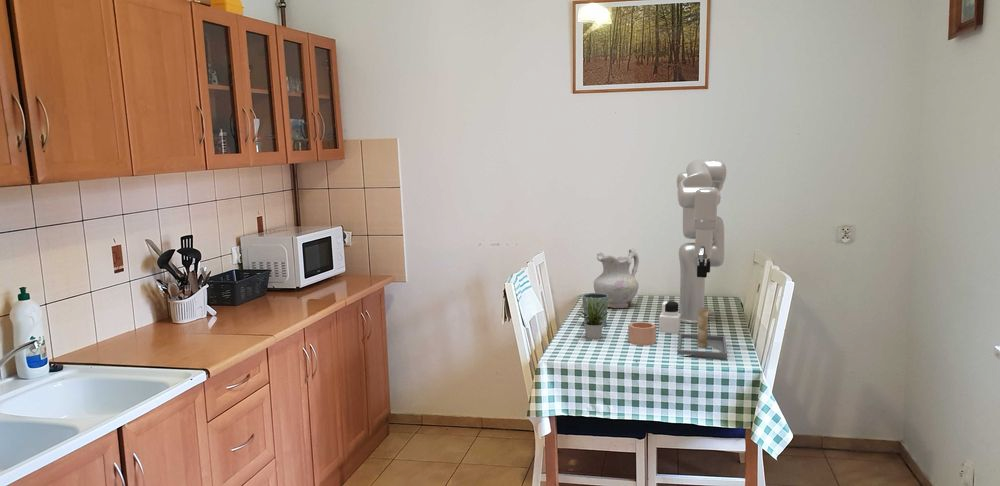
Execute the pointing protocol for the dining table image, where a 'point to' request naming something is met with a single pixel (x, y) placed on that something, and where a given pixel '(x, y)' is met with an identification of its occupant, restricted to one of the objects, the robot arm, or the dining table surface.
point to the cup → (642, 333)
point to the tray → (712, 341)
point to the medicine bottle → (669, 318)
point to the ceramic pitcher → (617, 279)
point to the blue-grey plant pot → (596, 297)
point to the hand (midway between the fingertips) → (703, 274)
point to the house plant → (594, 319)
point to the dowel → (702, 327)
